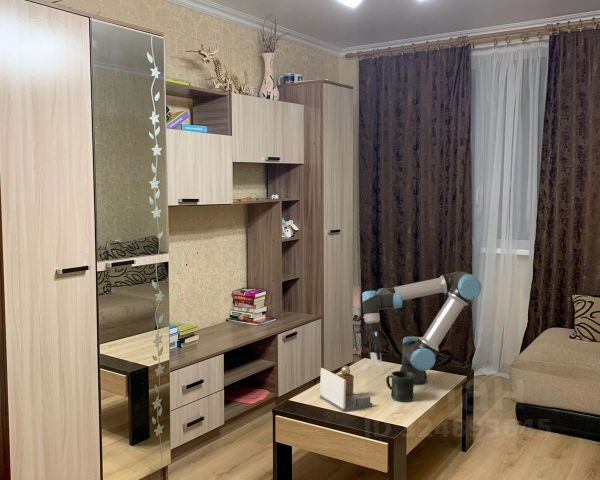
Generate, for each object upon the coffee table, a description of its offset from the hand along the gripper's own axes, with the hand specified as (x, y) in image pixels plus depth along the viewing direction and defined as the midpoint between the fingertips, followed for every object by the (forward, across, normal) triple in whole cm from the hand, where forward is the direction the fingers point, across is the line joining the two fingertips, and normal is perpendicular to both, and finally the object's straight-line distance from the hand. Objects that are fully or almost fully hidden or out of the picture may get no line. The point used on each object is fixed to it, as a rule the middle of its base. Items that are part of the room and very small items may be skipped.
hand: (376, 366), depth 298 cm
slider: (+11, +2, -17) cm, 20 cm away
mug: (+16, +2, +9) cm, 18 cm away
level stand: (+15, +8, -18) cm, 24 cm away
